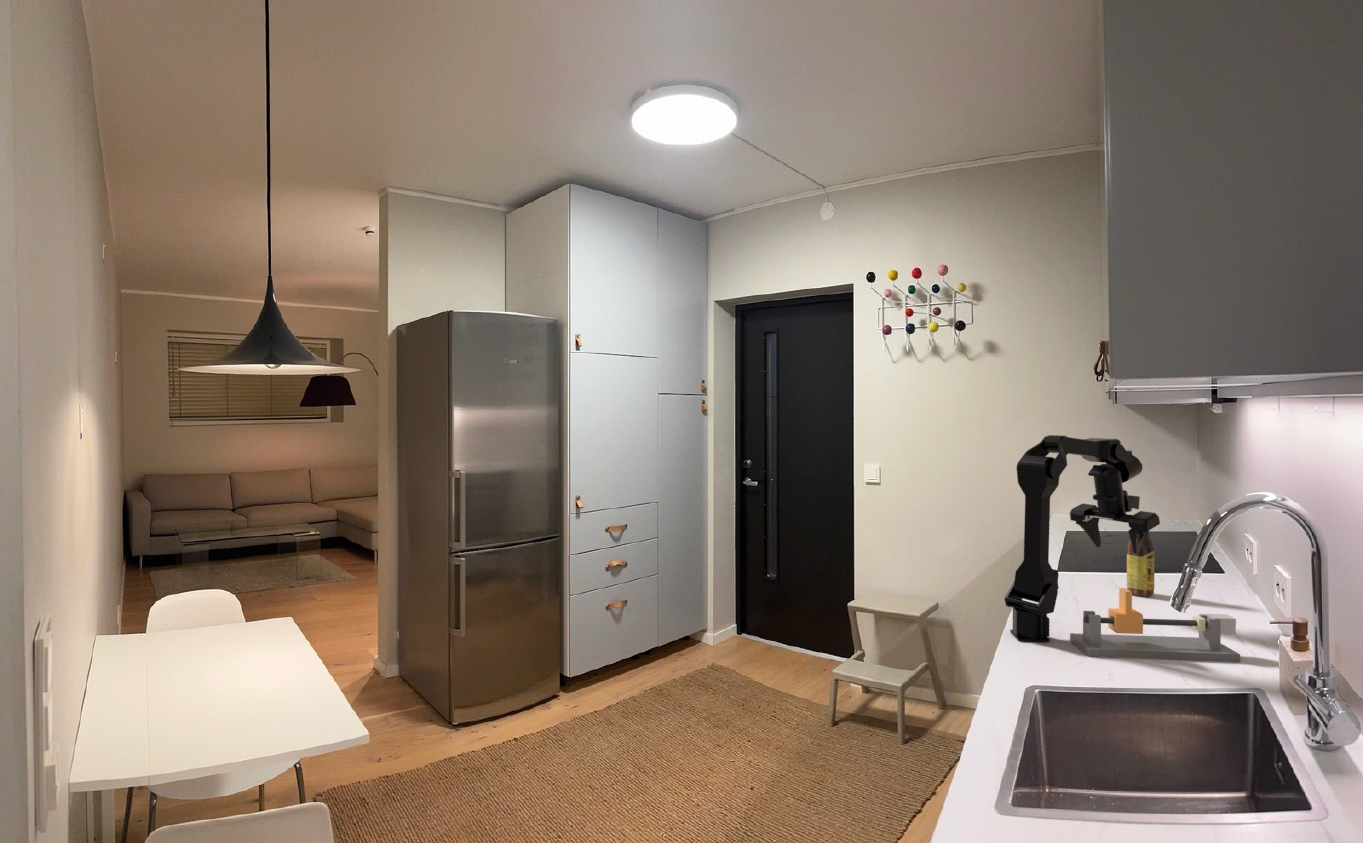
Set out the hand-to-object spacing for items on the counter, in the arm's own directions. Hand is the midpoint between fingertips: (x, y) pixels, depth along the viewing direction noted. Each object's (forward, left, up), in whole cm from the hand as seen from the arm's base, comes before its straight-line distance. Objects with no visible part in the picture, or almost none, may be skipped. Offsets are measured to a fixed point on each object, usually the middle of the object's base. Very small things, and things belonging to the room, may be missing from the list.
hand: (1117, 550), depth 177 cm
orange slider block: (-10, -27, -11) cm, 31 cm away
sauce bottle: (+13, +19, -16) cm, 28 cm away
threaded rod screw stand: (-5, -27, -15) cm, 32 cm away
